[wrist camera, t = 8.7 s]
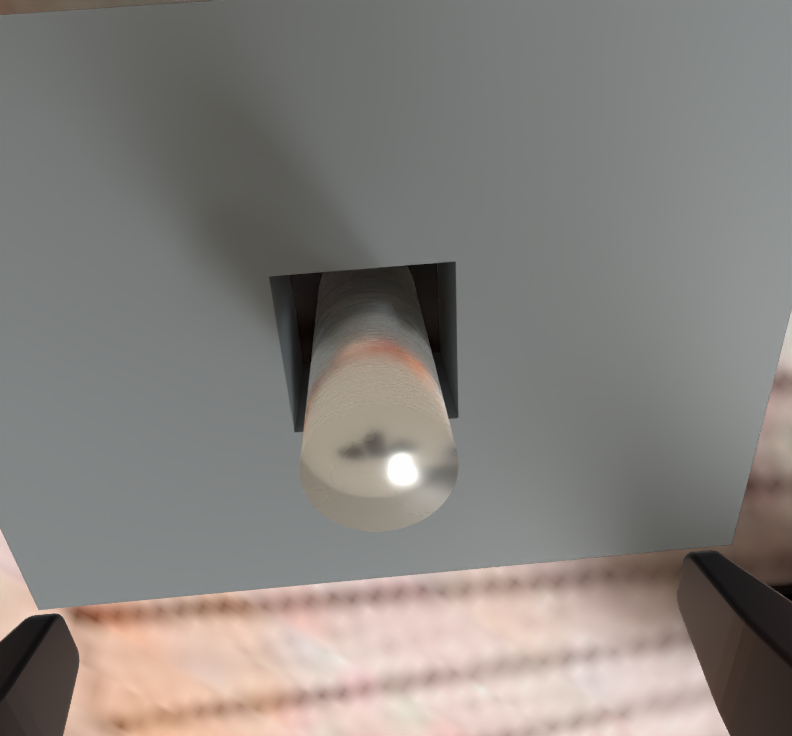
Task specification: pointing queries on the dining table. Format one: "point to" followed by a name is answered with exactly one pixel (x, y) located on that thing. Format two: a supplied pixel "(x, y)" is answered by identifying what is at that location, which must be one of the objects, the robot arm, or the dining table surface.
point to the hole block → (384, 247)
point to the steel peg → (374, 406)
